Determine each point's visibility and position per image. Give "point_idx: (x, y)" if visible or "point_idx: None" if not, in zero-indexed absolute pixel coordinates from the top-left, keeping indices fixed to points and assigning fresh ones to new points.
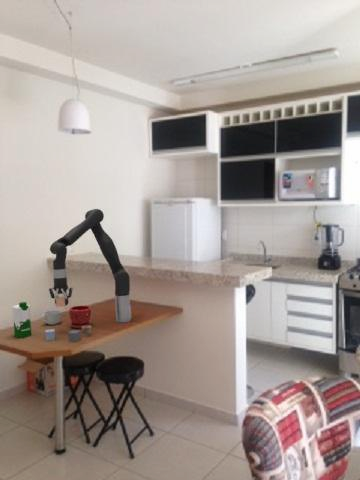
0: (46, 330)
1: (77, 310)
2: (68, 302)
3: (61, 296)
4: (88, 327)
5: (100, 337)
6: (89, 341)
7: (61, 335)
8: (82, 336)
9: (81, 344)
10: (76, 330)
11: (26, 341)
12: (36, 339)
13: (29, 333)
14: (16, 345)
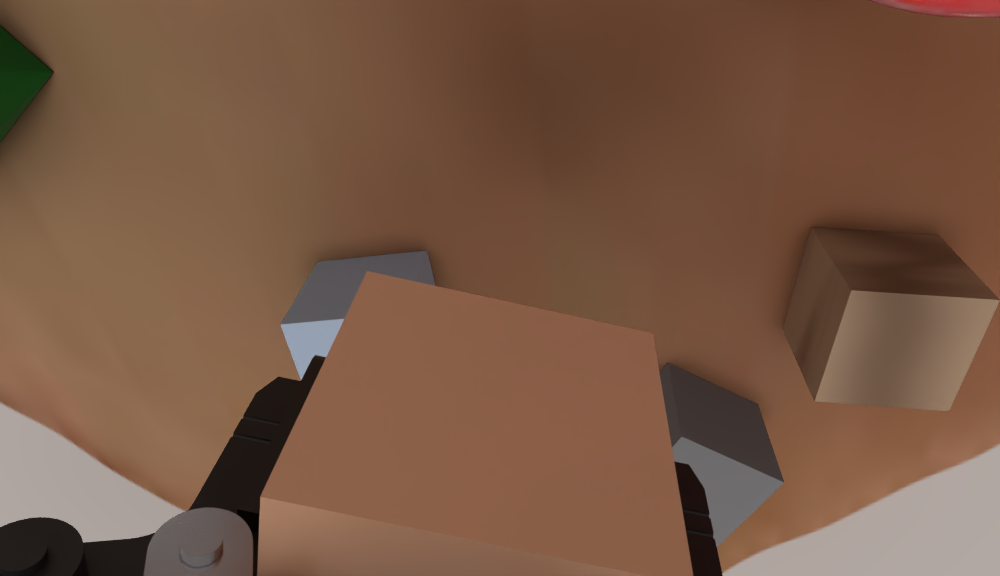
0: (303, 352)
1: (921, 6)
2: (704, 499)
3: (412, 534)
4: (921, 390)
5: (996, 411)
6: (836, 490)
7: (504, 204)
8: (786, 330)
9: (740, 539)
10: (728, 459)
11: (115, 310)
12: (209, 274)
13: (18, 111)
14: (69, 400)
